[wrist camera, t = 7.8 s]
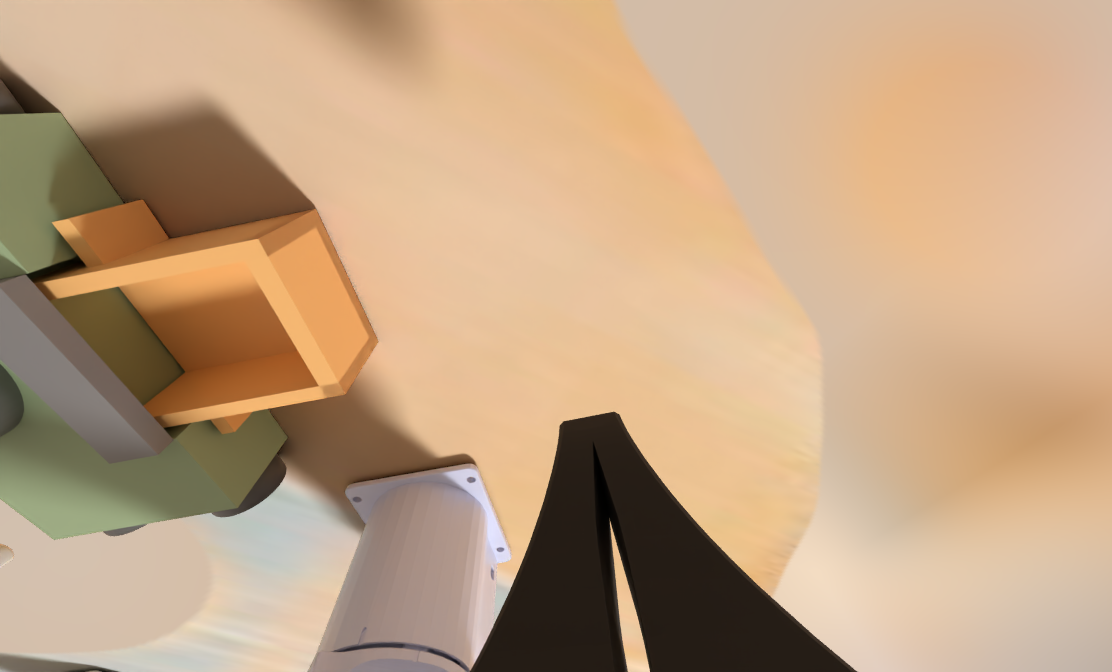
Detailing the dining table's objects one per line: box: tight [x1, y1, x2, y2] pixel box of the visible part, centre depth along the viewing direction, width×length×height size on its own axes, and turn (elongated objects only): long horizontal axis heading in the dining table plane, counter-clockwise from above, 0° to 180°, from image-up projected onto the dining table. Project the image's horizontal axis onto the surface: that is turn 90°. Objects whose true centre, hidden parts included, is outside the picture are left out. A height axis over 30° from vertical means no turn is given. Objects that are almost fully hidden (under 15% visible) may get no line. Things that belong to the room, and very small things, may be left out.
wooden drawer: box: [30, 200, 378, 434], centre depth 17 cm, size 10×9×4 cm
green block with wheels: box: [0, 79, 288, 540], centre depth 16 cm, size 19×10×7 cm, turn 10°
